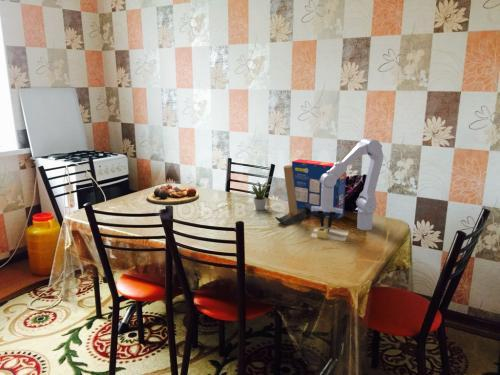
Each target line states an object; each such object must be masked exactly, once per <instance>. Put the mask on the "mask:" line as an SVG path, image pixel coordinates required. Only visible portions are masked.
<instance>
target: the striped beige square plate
mask: <svg viewBox="0 0 500 375" xmlns="http://www.w3.org/2000/svg"><path fill="white" fill-rule="evenodd" d="M319 228H320V227H315V228H314V229H313V231H312V232H311V234H310V235H309V238H313V239H319V238H318V237H317V230H318V229H319ZM349 233H350V231H349V230H341V229H333V228H329V230H328V234H327V237H326V238H321V239H324V240H330V241H331V240H332V241H339V242H340V241H341V242H346V240H347V237H348V235H349Z"/></svg>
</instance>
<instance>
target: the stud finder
mask: <svg viewBox="0 0 500 375" xmlns="http://www.w3.org/2000/svg"><path fill="white" fill-rule="evenodd" d="M318 228H319V229H318V230H317V237H318V238H317V239H322V238H326V237H327V234H328V229H327V228H323V227H318Z"/></svg>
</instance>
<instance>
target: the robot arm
mask: <svg viewBox="0 0 500 375" xmlns="http://www.w3.org/2000/svg"><path fill="white" fill-rule="evenodd" d="M364 155H367V156H368V157H369V159H370V161H369V165H368V170H367V174H366V177H365V182H364V185H363V188H362V189H363V190H362V191H360V193H359V196H358V198H356V200H355V204H356V207H357V208H358V209H357V220H356V228H357V230H361V231H371V230H373V225H374V224H373V223H374V213H375V211H376V210H377V197H376V194H375V192H376V190H377V184H378V181H379V176H380V172H381V169H382V165H383V161H384V153H383V144H381V142H380V141H379V140H377V139H373V138H369V137H363V138H361V139H360V141H358V142H357V143H356V145H355V147H354V148H353V149H351V150H350V152H349V153H348V154H347V155H346V156H345V157H344V158H343V159H342V161H337V162H333V163H334V166H333V167H332V168H331V169H330V170H329V171H327V173H324V174H323V175H322V176H321V178H320V182H321V184H322V187H321V206H312V207H311V211H318V213H317V214H318V216H317V217H318V218H319V221H320V225H321V227H320V228H323V217H324V212H330V214H329V229H331V228H332V225H333V224H332V222H333V221H334V219H333V218H334V216H335V214H336V213H340V214H342V213H343V209H339V208H334V207H333V195H334V185H335V184H336V181H337V179H338V178H339V177H340V176H342V175H343V174H344V173H345V172H346V173H347V171H348V166H349V165H351V164H352V163H353V162H355V160H356V159H357V158H359V156H364Z"/></svg>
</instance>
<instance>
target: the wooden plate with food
mask: <svg viewBox="0 0 500 375" xmlns="http://www.w3.org/2000/svg"><path fill="white" fill-rule="evenodd" d="M199 197H200V193H199V192H198V191H197V190H196V188H193V187H190V188H187V187H186V188H179V187H178V186H175V187H174V188H173V185H171V184H170V183H169V184H167V185H166V186H165V185H161V186H160V187H158V186H157V188H155V189H154V191H153V192H151V193H149V194H148V195H147V199H148V200H149V201H148V200H147V201H148V202H150V201H151V202H150V203H152V202H155V203H154V204H157V203H159V205H174V204H176V205H177V203H178V204H185V203H190V202H193V201H195V200H197V199H198V198H199Z"/></svg>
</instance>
